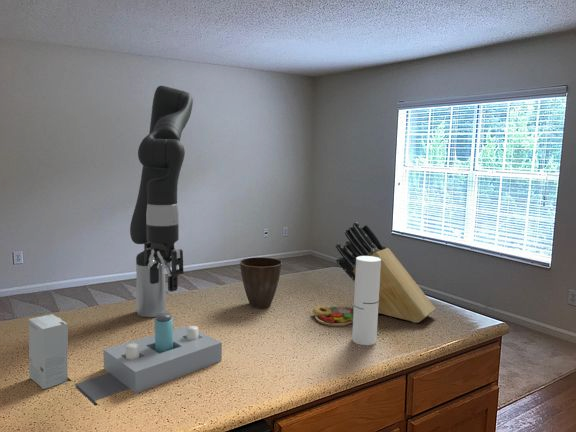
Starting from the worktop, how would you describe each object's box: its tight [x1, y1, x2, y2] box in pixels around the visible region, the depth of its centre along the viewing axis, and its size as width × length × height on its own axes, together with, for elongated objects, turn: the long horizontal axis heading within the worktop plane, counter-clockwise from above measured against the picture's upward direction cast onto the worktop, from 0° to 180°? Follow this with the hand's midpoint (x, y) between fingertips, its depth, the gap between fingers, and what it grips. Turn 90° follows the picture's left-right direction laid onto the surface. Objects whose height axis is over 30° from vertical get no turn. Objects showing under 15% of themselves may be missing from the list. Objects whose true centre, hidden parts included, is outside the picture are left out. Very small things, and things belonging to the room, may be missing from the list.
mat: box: [75, 372, 130, 406], centre depth 108 cm, size 10×10×1 cm
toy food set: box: [312, 305, 353, 327], centre depth 157 cm, size 13×13×3 cm
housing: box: [103, 324, 223, 394], centre depth 119 cm, size 16×24×6 cm, turn 136°
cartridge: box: [154, 312, 174, 354], centre depth 118 cm, size 4×4×13 cm
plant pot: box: [239, 256, 283, 309], centre depth 168 cm, size 15×15×16 cm
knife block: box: [335, 221, 437, 323], centre depth 165 cm, size 11×35×31 cm, turn 54°
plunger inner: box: [187, 325, 199, 341], centre depth 124 cm, size 3×3×7 cm
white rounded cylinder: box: [126, 343, 139, 361], centre depth 112 cm, size 3×3×7 cm
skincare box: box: [28, 313, 69, 390], centre depth 111 cm, size 8×6×15 cm
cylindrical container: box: [351, 256, 381, 346], centre depth 138 cm, size 7×7×25 cm
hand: (163, 286), depth 116 cm, fingers open, 8 cm apart
